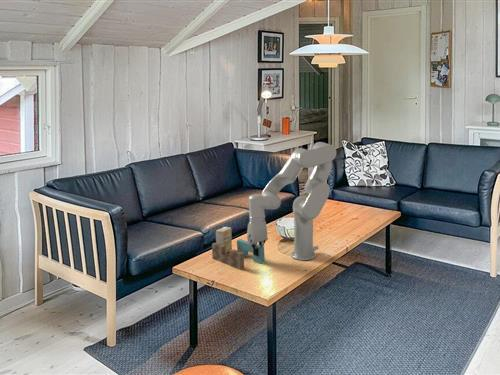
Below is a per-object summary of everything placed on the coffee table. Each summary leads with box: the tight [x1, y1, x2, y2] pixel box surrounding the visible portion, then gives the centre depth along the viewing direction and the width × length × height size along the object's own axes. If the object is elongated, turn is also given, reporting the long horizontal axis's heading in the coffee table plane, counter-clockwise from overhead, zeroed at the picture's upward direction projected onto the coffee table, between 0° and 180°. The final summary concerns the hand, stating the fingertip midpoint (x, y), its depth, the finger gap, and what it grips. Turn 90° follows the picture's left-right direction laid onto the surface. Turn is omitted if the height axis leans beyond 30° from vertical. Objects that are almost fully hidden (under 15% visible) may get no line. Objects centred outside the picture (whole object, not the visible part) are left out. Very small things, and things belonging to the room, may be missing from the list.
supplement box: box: [215, 226, 233, 254], centre depth 267 cm, size 8×5×13 cm, turn 148°
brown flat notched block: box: [211, 242, 245, 271], centre depth 252 cm, size 22×2×8 cm, turn 42°
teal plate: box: [236, 238, 266, 264], centre depth 257 cm, size 18×2×8 cm, turn 42°
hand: (258, 254), depth 253 cm, fingers closed on teal plate, 2 cm apart
